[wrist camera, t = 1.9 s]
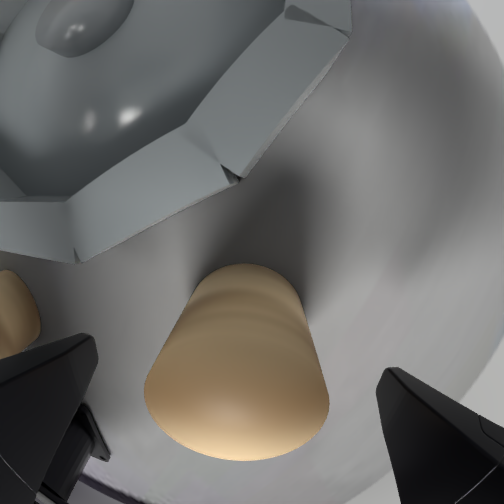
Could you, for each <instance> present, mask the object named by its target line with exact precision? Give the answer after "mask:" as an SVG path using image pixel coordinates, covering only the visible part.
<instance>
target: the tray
mask: <svg viewBox="0 0 504 504" xmlns="http://www.w3.org/2000/svg"><path fill="white" fill-rule="evenodd" d="M351 33H352V15H351V0H0V250H2V251H6V252H11V253H16V254H21V255H26V256H31V257H36V258H41V259H47V260H52V261H57V262H63V263H69V264H74V265H75V264H77V263H79V262H81V263H83V262H85V261H87V260H89V259H91V258H93V257H95V256H96V255H98V254H100V253H102V252H104V251H106V250H108V249H110V248H112V247H114V246H116V245H118V244H120V243H122V242H124V241H126V240H127V239H129V238H131V237H133V236H135V235H136V234H138V233H140V232H142V231H144V230H146V229H147V228H149V227H151V226H153V225H155V224H157V223H159V222H161V221H163V220H164V219H166V218H168V217H170V216H172V215H174V214H176V213H178V212H180V211H182V210H184V209H186V208H188V207H190V206H192V205H194V204H196V203H198V202H200V201H202V200H204V199H206V198H208V197H211V196H213V195H215V194H217V193H219V192H221V191H223V190H225V189H227V188H230V187H232V186H234V185H236V184H238V183H239V181H238V179H237V177H236V175H238V176H239V177H244V178H246V177H247V175H248V174H249V173H250V171H251V170H252V169H253V167H254V166H255V165H256V163H257V162H258V160H259V159H260V158H261V156H262V155H263V154H264V152H265V151H266V150H267V148H268V147H269V146H270V145H271V143H272V142H273V141H274V139H275V138H276V137H277V135H278V134H279V133H280V131H281V130H282V129H283V128H284V126H285V125H286V124H287V122H288V121H289V120H290V119H291V117H292V116H293V115H294V114H295V112H296V111H297V110H298V108H299V107H300V106H301V105H302V103H303V102H304V101H305V100H306V99H307V97H308V96H309V95H310V94H311V92H312V91H313V90H314V89H315V87H316V86H317V85H318V84H319V83H320V81H321V80H322V79H323V78H324V77H325V75H326V74H327V72H328V71H329V69H330V68H331V66H332V65H333V63H334V62H335V60H336V59H337V57H338V56H339V54H340V53H341V51H342V50H343V48H344V47H345V45H346V44H347V42H348V41H349V36H350V34H351Z"/></svg>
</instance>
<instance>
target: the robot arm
mask: <svg viewBox="0 0 504 504" xmlns="http://www.w3.org/2000/svg"><path fill="white" fill-rule="evenodd" d="M97 364H98V353H97V349H96V344H95V339H94V337H93V336H91V335H88V334H85V333H80V334H77V335H74V336H71V337H68V338H65V339H62V340H59V341H56V342H53V343H50V344H46V345H43V346H40V347H37V348H34V349H31V350H28V351H25V352H22V353H18V354H15V355H12V356H9V357H6V358H2V359H0V504H39V503H38V502H36V501H35V498H36V497H37V498H38V499H40V500H41V501H42V502H44V503H45V504H68V503H67V501H68V499H69V497H70V495H71V493H72V491H73V489H74V487H75V485H76V483H77V481H78V479H79V477H80V475H81V473H82V471H83V469H84V467H85V465H86V463H87V462H88V460H89V458H90V456H92V457H95V458H97V459H100V460H102V461H105V462H108V461H109V459H110V455H109V453H108V451H107V449H106V447H105V445H104V443H103V441H102V439H101V437H100V435H99V433H98V430H97V428H96V426H95V423H94V421H93V419H92V416H91V414H90V411H89V410H88V409H87V408H86V407H85V406H84V405H82V404H80V403H81V401H82V399H83V397H84V395H85V392H86V390H87V387H88V385H89V383H90V380H91V378H92V375H93V373H94V371H95V369H96V366H97ZM376 397H377V402H378V408H379V413H380V419H381V425H382V430H383V434H384V438H385V442H386V445H387V449H388V453H389V456H390V460H391V464H392V468H393V471H394V475H395V479H396V484H397V488H398V492H399V497H400V501H401V504H504V428H503V427H501V426H499V425H497V424H495V423H493V422H491V421H489V420H488V419H486V418H484V417H482V416H481V415H478V414H477V413H475V412H473V411H472V410H470V409H468V408H466V407H464V406H463V405H461V404H460V403H458V402H456V401H454V400H453V399H451V398H449V397H447V396H446V395H444V394H442V393H441V392H439V391H437V390H436V389H434V388H432V387H430V386H429V385H427V384H425V383H424V382H422V381H420V380H419V379H417V378H415V377H414V376H412V375H410V374H409V373H407V372H405V371H404V370H402V369H400V368H399V367H388V368H386V369H385V370H384V372H383V374H382V376H381V379H380V381H379V383H378V385H377V388H376Z"/></svg>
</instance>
